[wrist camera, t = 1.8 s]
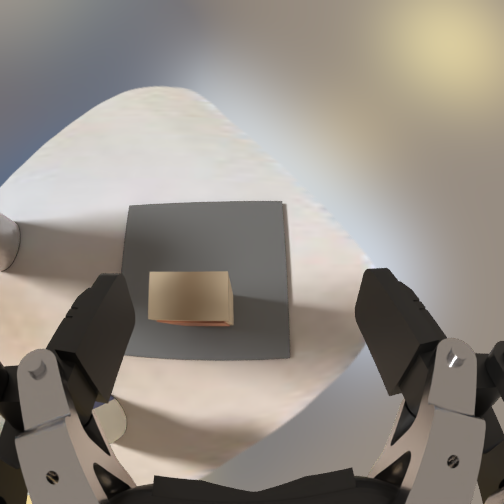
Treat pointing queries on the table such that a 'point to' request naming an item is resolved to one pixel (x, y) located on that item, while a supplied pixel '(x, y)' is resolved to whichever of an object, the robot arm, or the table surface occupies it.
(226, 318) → the tan two-tone tall block
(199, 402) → the table surface
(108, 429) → the water bottle
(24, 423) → the robot arm
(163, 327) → the rubber mat
